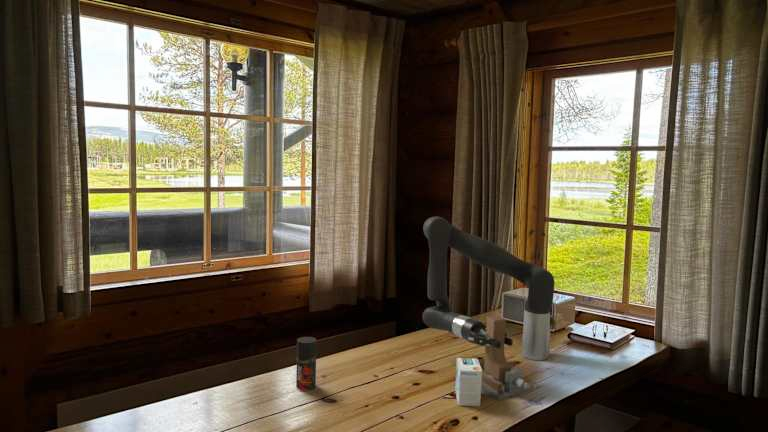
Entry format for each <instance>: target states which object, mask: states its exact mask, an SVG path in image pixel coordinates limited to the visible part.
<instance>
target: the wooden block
mask: <svg viewBox="0 0 768 432" xmlns="http://www.w3.org/2000/svg"><path fill="white" fill-rule="evenodd" d="M506 322H507V320H506V319H505V318H503V317H501V316H500V315H494V316H487V317H486V333H487V334H488V336H489V337H491V339H492V338H493V339H495V340H498V341H500V342H501V348H499V349H498V348H496V347H493V346H488V345H486V344H485V346H484V363H483V370H484V371H485V372H486V373H487V374H488V375H492V376H493V377H494V378H496V379H497V380H499V381H500V380H505V372H506V371H510V370H512V365H511V363H509V362H508V361H507V358H506V355H505V344H504V342H505V333H506Z"/></svg>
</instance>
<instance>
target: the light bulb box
mask: <svg viewBox="0 0 768 432" xmlns="http://www.w3.org/2000/svg"><path fill="white" fill-rule="evenodd" d="M482 374H483V369H482V367H481V364H480V361H479V359H478V358H476V357H475V358H472V357H471V358H469V357H467V358H464V357H456V369H455V389H454V392H455V397H456V402H457V405H458V406H468V407H480V406H481V400H482V399H481V398H482V397H481V396H482V392H481V383H482Z"/></svg>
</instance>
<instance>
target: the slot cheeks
mask: <svg viewBox="0 0 768 432" xmlns="http://www.w3.org/2000/svg"><path fill="white" fill-rule="evenodd" d="M523 380H524V381H525V376H523ZM502 384H503V383H501V382H498V381H496V380H494V379H492V378H490V377H488V376H487V375H485V374H483V373H482V383H481V385H483V386H485V387H487V388H489V389H491V390H493V391H495V392H497V393H498V392H501V391H502Z"/></svg>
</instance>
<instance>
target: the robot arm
mask: <svg viewBox="0 0 768 432" xmlns="http://www.w3.org/2000/svg"><path fill="white" fill-rule="evenodd" d="M422 231H423V234H424V236H425V237H426V238H427V240H428V248H429V249H428V250H429V260H428V261H429V262H428V263H429V264H428V269H427V270H428V271H427V277H426V278H427V280H426V281H427V282H426V283H427V284H426V285H427V286H426V287H427V288H426V290H427V291H426V294H427V298H428V300H430V301H435V304H436V306H429V307H427V308H426V309H424V311H423V312H422V321H423V323H424V324H425V325H426V326H427V327H428V328H431V329H433V330H434V329H435V330H440V331H445V332H449V333H451V334H453V335H456V336H457V337H458V338H459V339H460V338H461V339H463V340H465V341H468V342H469V343H472V344H474V345H477V346H481V347H485V345H488V346H493V347H496V348H498V349H499V348H501V342H500V341H498V340H495V339H493V338H492V339H491V337H489V336H488V334H487V333H486V328H487V326H485V324H484V323H483V322H482V321H480V320H478V319H475V318H472V317H469V316H467V315H463V314H459V313H457V312H453V311H452V310H451V305H450V302H449V301H450V300H449V298H448V291H447V290H448V289H447V288H448V287H447V286H448V284H447V283H448V281H447V280H448V279H447V278H448V275H447V271H448V270H447V263H448V261H447V260H448V259H447V258H448V249H449V248H451V249H452V250H455V251H457V252H458V253H459V254H460V255H463V256H464V257H465V258H467V259H469V260H471V261H472V262H474V263H476V264H477V265H480V266H481V267H484V268H486V269H487V270H490V271H492V272H495V273H498V274H499V273H500V274H503V275H507V276H509V277H511V278H513V279H515V280H516V281H518V282H520V283H521V284H523V285H524V286H526V287H527V288H528V293H527V300H526V301H525V302H524V309H523V310H524V313H523V327H522V329H523V331H522V343H521V346H522V347H521V355H522V357H523V358H524V359H525V358H526V359H528V360H532V361H543V360H544V361H545V360H546V359H548V357H549V356H550V347H551V346H550V345H551V330H550V323H551V308H552V306H553V304H554V303H553V302H554V293H555V278H554V275H553V274H552V273H551V272H550V271H549V270H548V269H546V268H544V267H542V266H539V265H536V264H533V263H531V262H528V261H526V260H522V259H521V258H519V257H516V256H515V255H513V253H511V252H510V251H508V250H506V249H505V248H503V247H501V246H499V245H497V244H496V243H493V242H492V241H489V240H487V239H485V238H482V237H480V236H477V235H474V234H472V233H468V232H466V231H463V230H461V229H460V228H457V227H456V226H455V225H453V224H451V223H449V221H448V220H447V219H445V218H443V217H440V216H432V217H429V218H427V219H426V220H425V222H424V223H423V227H422ZM448 247H449V248H448ZM513 341H514V340H513V338H511V337H508V333H507V332H505V342H504V345H506V346H508V347H511V346H513Z"/></svg>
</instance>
